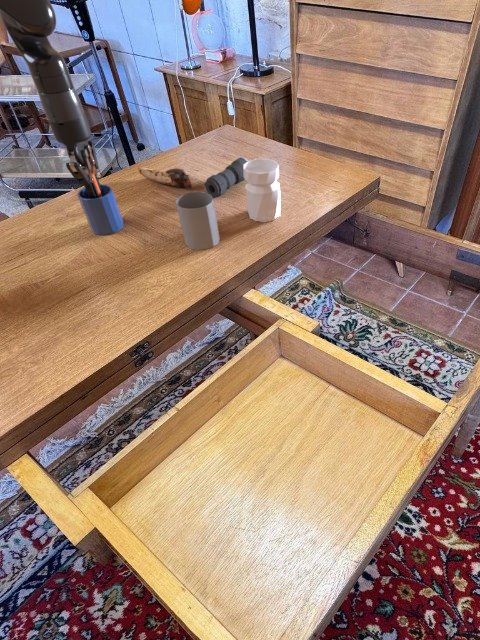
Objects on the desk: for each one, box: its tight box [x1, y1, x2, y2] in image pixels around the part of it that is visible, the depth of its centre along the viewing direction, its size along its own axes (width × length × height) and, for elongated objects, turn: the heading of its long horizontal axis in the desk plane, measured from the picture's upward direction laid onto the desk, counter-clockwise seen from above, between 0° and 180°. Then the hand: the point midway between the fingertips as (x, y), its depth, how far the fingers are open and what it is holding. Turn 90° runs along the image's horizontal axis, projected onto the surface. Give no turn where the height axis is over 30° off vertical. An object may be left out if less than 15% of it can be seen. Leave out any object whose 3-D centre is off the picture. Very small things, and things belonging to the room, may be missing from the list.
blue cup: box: [76, 183, 125, 236], centre depth 109 cm, size 8×8×9 cm
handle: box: [86, 172, 102, 198], centre depth 107 cm, size 3×3×12 cm
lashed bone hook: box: [138, 166, 193, 188], centre depth 127 cm, size 9×5×18 cm
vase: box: [243, 158, 282, 223], centre depth 111 cm, size 9×9×12 cm
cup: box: [175, 190, 221, 251], centre depth 104 cm, size 8×8×10 cm
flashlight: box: [204, 156, 249, 198], centre depth 123 cm, size 15×5×5 cm, turn 148°
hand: (96, 194), depth 106 cm, fingers closed on handle, 2 cm apart
